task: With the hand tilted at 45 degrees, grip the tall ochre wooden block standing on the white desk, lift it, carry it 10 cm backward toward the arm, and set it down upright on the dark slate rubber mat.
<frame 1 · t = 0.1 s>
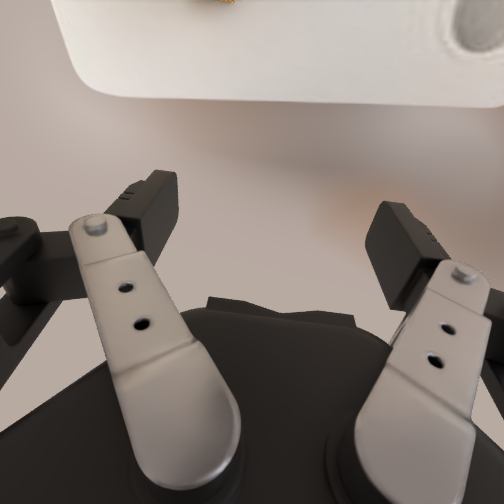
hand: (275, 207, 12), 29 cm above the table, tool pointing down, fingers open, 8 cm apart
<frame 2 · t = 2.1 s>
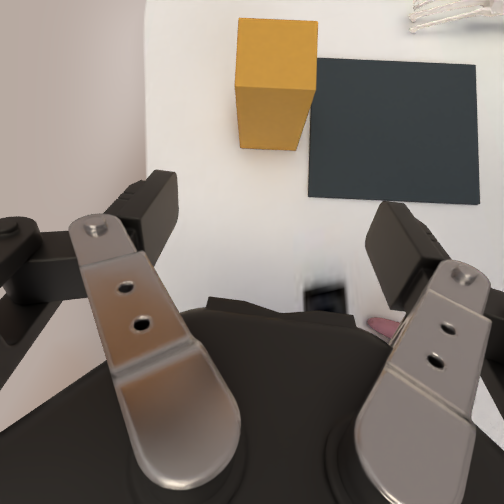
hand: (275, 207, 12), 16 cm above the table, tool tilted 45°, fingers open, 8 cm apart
llama figurine: (491, 29, 30), on the table
video game controller: (380, 374, 26), on the table
block: (269, 125, 28), on the table
mat: (392, 130, 28), on the table
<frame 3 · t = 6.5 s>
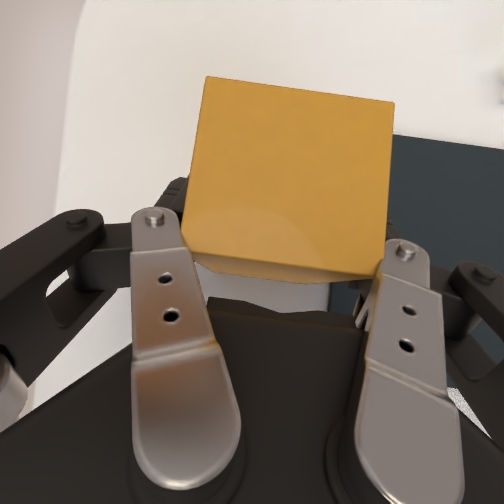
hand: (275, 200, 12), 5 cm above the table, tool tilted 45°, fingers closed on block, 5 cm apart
block: (265, 234, 17), on the table, touching gripper
mat: (470, 262, 17), on the table
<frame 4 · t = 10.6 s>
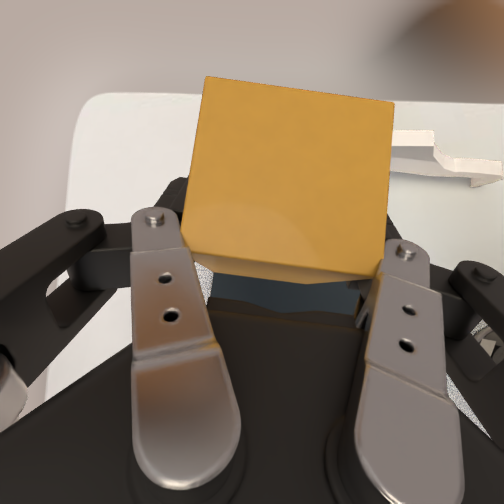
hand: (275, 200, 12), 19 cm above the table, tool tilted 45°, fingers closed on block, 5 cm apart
llama figurine: (393, 174, 32), on the table
block: (265, 234, 17), point 14 cm above the table, touching gripper
mat: (292, 264, 31), on the table
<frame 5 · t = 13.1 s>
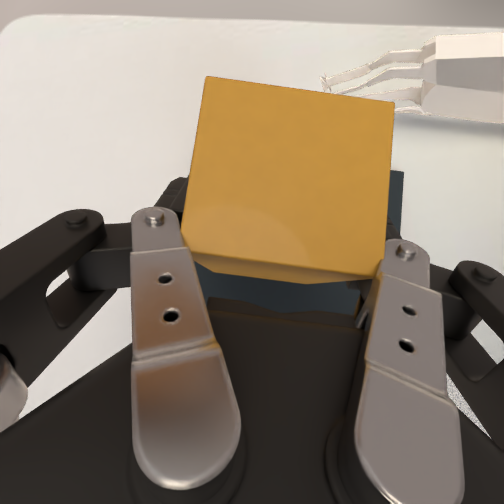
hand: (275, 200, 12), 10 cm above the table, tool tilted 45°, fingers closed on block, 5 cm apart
llama figurine: (430, 125, 23), on the table
block: (265, 234, 17), point 5 cm above the table, touching gripper
mat: (289, 249, 22), on the table
when the fingers open (5 cm above the table, at t = 14.9 s): block stays where it is, resting on mat.
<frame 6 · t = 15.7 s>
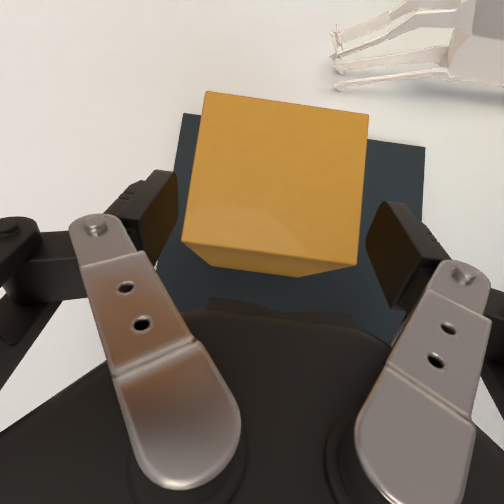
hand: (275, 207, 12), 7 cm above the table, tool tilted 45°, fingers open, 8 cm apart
llama figurine: (454, 96, 20), on the table
block: (260, 231, 18), resting on mat
mat: (292, 235, 18), on the table
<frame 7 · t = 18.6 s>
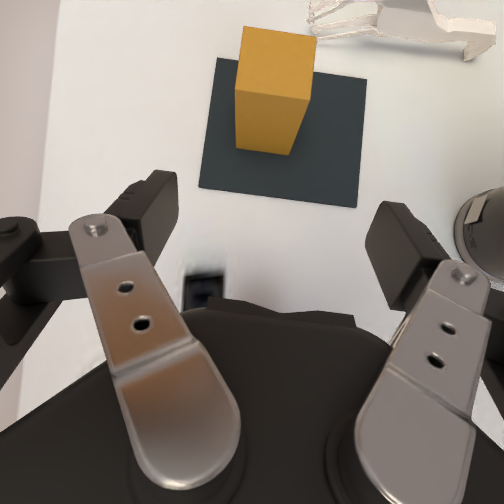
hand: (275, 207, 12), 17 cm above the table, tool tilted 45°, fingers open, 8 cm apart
llama figurine: (387, 48, 32), on the table
block: (265, 128, 30), resting on mat
mat: (285, 132, 30), on the table
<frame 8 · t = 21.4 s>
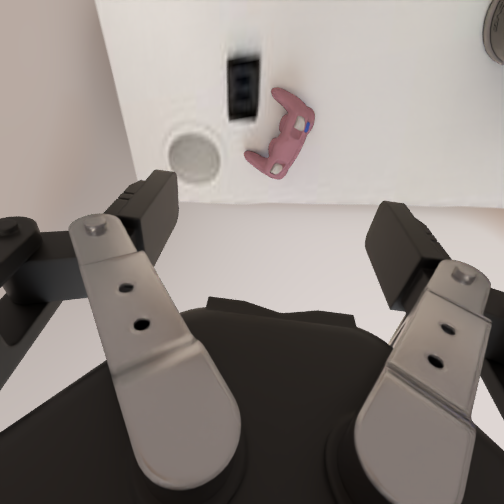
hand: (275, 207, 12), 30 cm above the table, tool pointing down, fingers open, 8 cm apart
video game controller: (277, 131, 39), on the table
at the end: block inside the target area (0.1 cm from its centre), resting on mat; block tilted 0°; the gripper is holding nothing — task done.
